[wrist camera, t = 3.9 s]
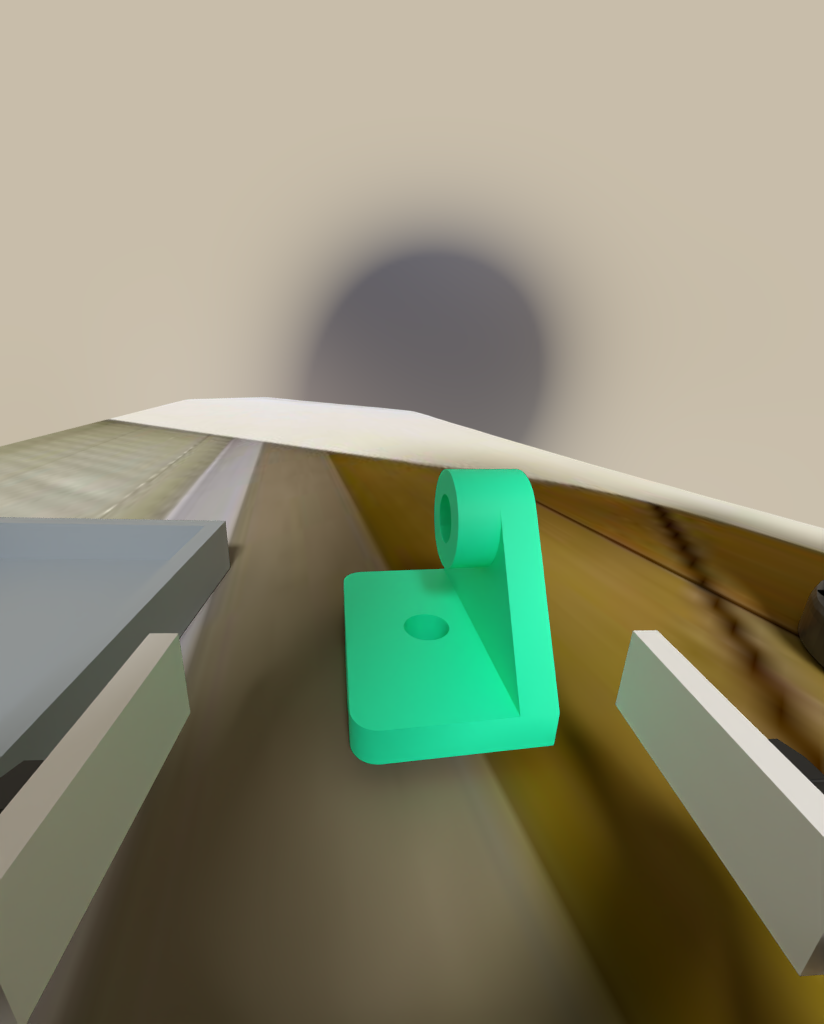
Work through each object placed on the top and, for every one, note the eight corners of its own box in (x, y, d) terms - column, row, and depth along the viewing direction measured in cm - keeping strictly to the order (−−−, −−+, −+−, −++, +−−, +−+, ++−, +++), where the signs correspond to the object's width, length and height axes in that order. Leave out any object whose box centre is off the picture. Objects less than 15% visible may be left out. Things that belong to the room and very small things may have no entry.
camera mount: (343, 611, 27) (341, 443, 24) (464, 604, 28) (479, 444, 25) (350, 790, 16) (349, 521, 13) (549, 767, 17) (596, 517, 14)
